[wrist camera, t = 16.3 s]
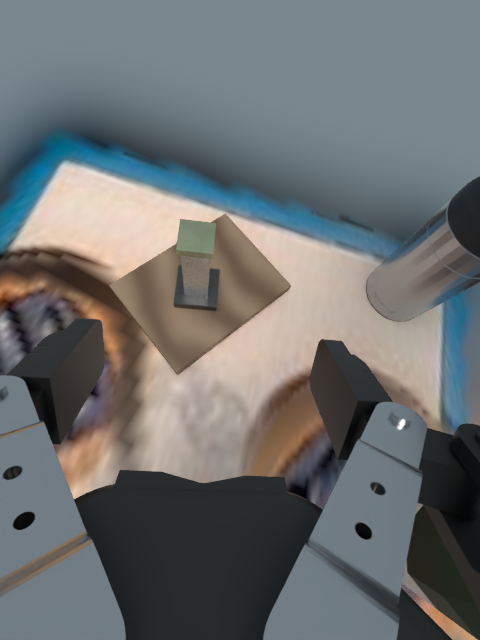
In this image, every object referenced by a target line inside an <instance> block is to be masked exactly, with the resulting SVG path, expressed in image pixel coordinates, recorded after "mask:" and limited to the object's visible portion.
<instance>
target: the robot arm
mask: <svg viewBox="0 0 480 640" xmlns="http://www.w3.org/2000/svg"><path fill="white" fill-rule="evenodd" d="M478 283H480V177H477V178H476V179H474V180H472V181H471V182H470V183H468V184H467V185H466V186H465V187H463V188H462V189H461V190H460V191H459V192H458V193H457V194H456V195H455V196H454V197H453V198H452V199H451V200H450V201H449V202H447V203H446V204H445V205H444V206H443V207H442V208H441V209H440V210H439V211H438V212H437V213H436V214H435V215H434V216H433V217H432V218H430V219H429V220H428V221H427V222H426V223H425V224H424V225H423V226H422V227H421V228H420V229H419V230H418V231H417V232H416V233H414V234H413V235H412V236H411V237H410V238H409V239H408V240H407V241H406V242H405V243H404V244H403V245H402V246H400V247H399V248H398V249H397V250H396V251H395V252H394V253H393V254H392V255H391V256H390V257H389V258H387V259H386V260H385V261H384V262H383V263H382V264H381V265H380V266H379V267H378V268H377V269H376V270H375V271H374V272H372V274H371V275H370V276H369V278H368V281H367V287H366V288H367V295H368V298H369V300H370V302H371V304H372V305H373V307H374V308H375V309H376V310H377V311H378V312H379V313H380V314H382V315H383V316H385V317H386V318H389V319H391V320H395V321H407V320H411V319H413V318H415V317H416V316H418V315H420V314H422V313H424V312H426V311H428V310H430V309H432V308H434V307H435V306H437V305H439V304H441V303H443V302H445V301H447V300H448V299H450V298H452V297H454V296H456V295H458V294H460V293H461V292H463V291H465V290H467V289H469V288H471V287H473V286H474V285H476V284H478ZM104 361H105V356H104V342H103V328H102V322H101V321H100V320H96V319H85V318H76V319H75V320H74V321H73V322H72V323H71V324H70V325H69V326H68V327H67V329H66V330H65V331H64V330H59V331H57V332H55V333H53V334H51V335H49V336H47V337H45V338H44V339H43V340H42V341H41V342H40V343H39V344H38V345H37V347H35V348H34V349H33V350H32V351H31V352H30V354H28V355H26V356H25V357H24V358H23V359H22V360H21V361H20V362H19V363H18V364H17V365H16V366H15V367H14V368H13V369H12V370H11V371H10V372H9V373H8V374H7V375H6V376H0V640H452V639H451V638H450V637H449V636H448V635H447V634H446V633H445V632H444V631H443V630H442V629H441V628H440V627H439V626H438V625H437V624H436V623H435V622H434V621H433V620H432V619H431V618H430V617H429V616H428V615H427V614H426V613H425V612H424V611H423V610H422V609H421V608H420V607H419V606H418V605H417V604H416V603H415V601H414V600H413V599H412V598H411V597H410V596H409V595H408V594H407V593H406V592H405V591H404V590H403V589H402V588H401V586H402V581H403V576H404V571H405V565H406V560H407V555H408V550H409V545H410V539H411V534H412V529H413V524H414V519H415V514H416V508H417V503H419V504H422V505H424V507H425V509H426V511H427V512H428V514H429V516H430V518H431V520H432V522H433V524H434V526H435V528H436V529H437V531H438V533H439V535H440V537H441V539H442V541H443V543H444V545H445V547H446V548H447V550H448V552H449V554H450V556H451V558H452V560H453V562H454V564H455V565H456V567H457V569H458V571H459V573H460V575H461V577H462V579H463V581H464V583H465V584H466V586H467V588H468V590H469V592H470V594H471V596H472V598H473V600H474V601H475V603H476V605H477V607H478V609H479V611H480V426H479V425H475V424H462V425H460V426H459V427H458V429H457V430H456V432H455V434H454V436H453V435H450V434H446V433H443V432H439V431H436V430H432V429H429V428H427V425H426V423H425V421H424V420H423V418H422V417H421V416H420V415H419V414H417V413H416V412H415V411H413V410H412V409H410V408H408V407H406V406H404V405H401V404H398V403H394V402H393V401H392V400H391V398H390V397H389V396H388V394H387V393H386V391H385V390H384V389H383V387H382V386H381V384H380V383H379V382H378V381H377V379H376V377H375V376H374V375H373V374H372V373H371V370H370V369H369V367H368V366H367V365H366V363H365V362H363V361H362V360H361V359H359V358H358V357H357V356H355V355H351V354H350V352H349V351H348V349H347V348H346V346H345V345H344V343H343V342H342V341H335V340H324V339H322V340H320V342H319V344H318V347H317V351H316V355H315V359H314V363H313V367H312V371H311V375H310V388H311V391H312V394H313V397H314V399H315V402H316V404H317V407H318V409H319V412H320V415H321V417H322V420H323V422H324V425H325V428H326V430H327V433H328V435H329V438H330V441H331V443H332V446H333V448H334V451H335V453H336V456H337V459H338V460H348V461H347V463H346V465H345V467H344V469H343V471H342V473H341V475H340V477H339V479H338V481H337V483H336V485H335V487H334V489H333V491H332V493H331V495H330V497H329V499H328V501H327V503H326V505H325V507H324V509H323V510H322V509H321V508H319V507H318V506H316V505H315V504H313V503H312V502H310V501H308V500H307V499H305V498H303V497H301V496H298V495H296V494H294V493H291V492H288V491H287V489H286V483H285V478H284V477H263V476H241V477H236V478H231V479H226V480H221V481H215V482H210V483H199V482H195V481H192V480H188V479H185V478H181V477H178V476H174V475H171V474H167V473H164V472H152V471H129V470H120V471H119V474H118V477H117V480H116V483H115V484H113V485H109V486H105V487H102V488H98V489H96V490H93V491H91V492H88V493H86V494H84V495H82V496H80V497H78V498H76V499H73V496H72V493H71V491H70V488H69V486H68V483H67V480H66V478H65V475H64V473H63V470H62V467H61V465H60V462H59V460H58V457H57V454H56V452H55V449H54V447H53V444H61V442H62V441H63V439H64V437H65V436H66V434H67V432H68V430H69V429H70V427H71V425H72V424H73V422H74V420H75V419H76V417H77V415H78V413H79V412H80V410H81V408H82V407H83V405H84V403H85V402H86V400H87V398H88V396H89V395H90V393H91V391H92V390H93V388H94V386H95V384H96V383H97V381H98V379H99V378H100V376H101V374H102V371H103V368H104Z"/></svg>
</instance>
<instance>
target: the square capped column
mask: <svg viewBox="0 0 480 640" xmlns="http://www.w3.org/2000/svg"><path fill="white" fill-rule="evenodd" d="M215 229H216V223H209V222H201V221H192V220H184V219H180V225H179V233H178V240H177V247H176V253H177V255H179V256H181V265H179V266H178V274H177V281H176V288H175V296H174V307H176V308H186V309H197V310H208V311H216V309H217V298H218V287H219V275H220V269H212V268H210V263H211V259H213V250H214V240H215Z"/></svg>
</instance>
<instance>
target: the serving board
mask: <svg viewBox="0 0 480 640" xmlns="http://www.w3.org/2000/svg"><path fill="white" fill-rule="evenodd" d="M211 223H216V229H215V240H214V250H213V259H211V263H210V268H212V269H220V275H219V287H218V298H217V309H216V311H208V310H197V309H186V308H176V307H174V296H175V288H176V281H177V274H178V266H179V265H181V256H179V255H177V253H176V247H177V244H175V245H174V246H172V247H171V248H169V249H167V250H166V251H164V252H162V253H161V254H159V255H158V256H156V257H154V258H153V259H151V260H149V261H148V262H146V263H145V264H143V265H141V266H140V267H138V268H137V269H135V270H133V271H132V272H130V273H128V274H127V275H125V276H124V277H122V278H120V279H119V280H117V281H115V282H114V283H112V284H111V285H110V287H111V289H112V290H113V291H114V293H115V294H116V296H117V297H118V298H119V299H120V301H121V302H122V303H123V305H124V306H125V307H126V308H127V310H128V311H129V312H130V314H131V315H132V316H133V318H134V319H135V320H136V321H137V323H138V324H139V325H140V327H141V328H142V329H143V330H144V332H145V333H146V334H147V336H148V337H149V338H150V340H151V341H152V342H153V343H154V345H155V346H156V347H157V349H158V350H159V351H160V352H161V354H162V355H163V356H164V358H165V359H166V360H167V362H168V363H169V364H170V365H171V367H172V368H173V369H174V371H175V372H176V373H177V374H179V373H180V372H182V371H183V370H184V369H186V368H187V367H188V366H190V365H191V364H192V363H194V362H195V361H196V360H197V359H199V358H200V357H201V356H203V355H204V354H205V353H207V352H208V351H209V350H211V349H212V348H213V347H214V346H216V345H217V344H218V343H220V342H221V341H222V340H224V339H225V338H226V337H228V336H229V335H230V334H231V333H233V332H234V331H235V330H237V329H238V328H239V327H241V326H242V325H243V324H245V323H246V322H247V321H248V320H250V319H251V318H252V317H254V316H255V315H256V314H258V313H259V312H260V311H262V310H263V309H264V308H265V307H267V306H268V305H269V304H271V303H272V302H273V301H275V300H276V299H277V298H278V297H280V296H281V295H282V294H284V293H285V292H286V291H288V290H289V288H290V287H291V285H290V284H289V283H288V282H287V280H286V279H285V278H284V277H283V276H282V275H281V274H280V273H279V272H278V271H277V270H276V268H275V267H274V266H273V265H272V264H271V263H270V262H269V261H268V260H267V259H266V258H265V256H264V255H263V254H262V253H261V252H260V251H259V250H258V249H257V248H256V247H255V246H254V244H253V243H252V242H251V241H250V240H249V239H248V238H247V237H246V236H245V235H244V233H243V232H242V231H241V230H240V229H239V228H238V227H237V226H236V225H235V224H234V223H233V221H232V220H231V219H230V218H229V217H228V216H227V215H226V214H224V215H222V216H221V217H219V218H217V219H216V220H214V221H213V222H211Z"/></svg>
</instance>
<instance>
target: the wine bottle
mask: <svg viewBox="0 0 480 640" xmlns="http://www.w3.org/2000/svg"><path fill="white" fill-rule="evenodd" d="M402 584H404V585H405V586H406V587H408V588H409V589H410V590H412V591H413V592H414V593H416V594H417V595H419V596H420V597H421V598H423V599H424V600H425V601H427V602H428V603H429V604H431V605H432V606H433V607H435V608H436V609H437V610H439V611H440V612H441V613H443V614H444V615H445V616H447V617H448V618H449V619H451V620H452V621H454V622H455V623H456V624H458V625H459V626H460V627H462V628H463V629H464V630H466V631H467V632H468V633H470V634H471V635H472V636H474V637H475V638H476V639H478V640H480V611H479V609H478V607H477V605H476V603H475V601H474V600H473V598H472V596H471V594H470V592H469V590H468V588H467V586H466V584H465V583H464V581H463V579H462V577H461V575H460V573H459V571H458V569H457V567H456V565H455V564H454V562H453V560H452V558H451V556H450V554H449V552H448V550H447V548H446V547H445V545H444V543H443V541H442V539H441V537H440V535H439V533H438V531H437V529H436V528H435V526H434V524H433V522H432V520H431V518H430V516H429V514H428V512H427V511H426V509H425V507H424V505H422V504H419V503H417V508H416V514H415V519H414V524H413V529H412V534H411V539H410V545H409V550H408V555H407V560H406V565H405V571H404V576H403V581H402Z"/></svg>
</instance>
